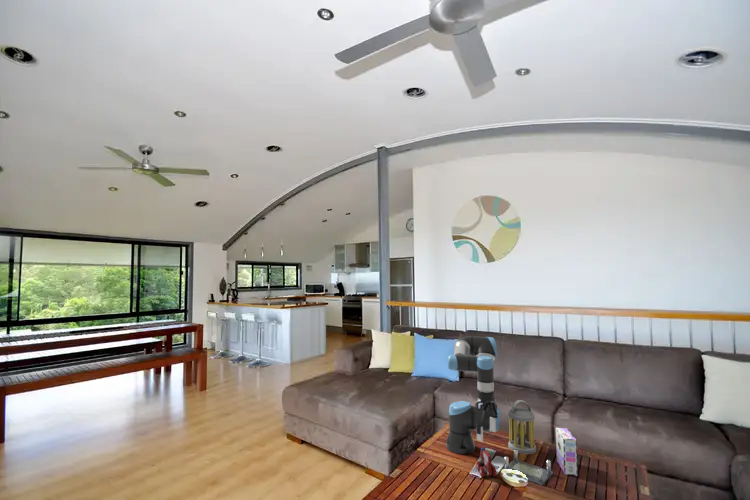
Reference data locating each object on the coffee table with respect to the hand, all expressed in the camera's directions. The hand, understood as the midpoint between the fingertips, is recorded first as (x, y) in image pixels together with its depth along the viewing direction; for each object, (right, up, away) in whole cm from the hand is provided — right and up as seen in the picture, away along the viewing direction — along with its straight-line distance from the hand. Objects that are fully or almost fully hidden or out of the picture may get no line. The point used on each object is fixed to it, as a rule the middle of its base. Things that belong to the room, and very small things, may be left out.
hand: (486, 436), depth 174 cm
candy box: (+40, -17, +3) cm, 43 cm away
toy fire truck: (-1, -17, -1) cm, 17 cm away
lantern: (+26, -19, +24) cm, 40 cm away
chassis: (+19, -17, -1) cm, 25 cm away
